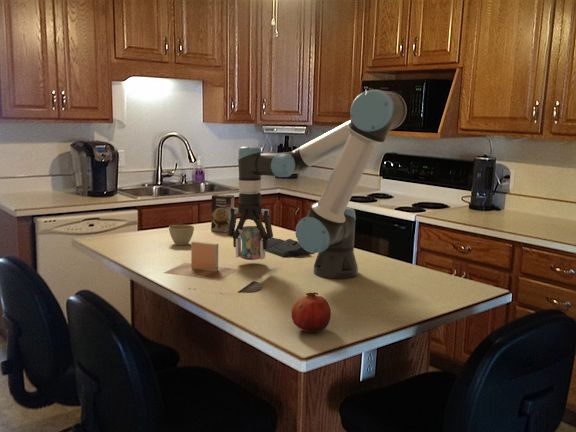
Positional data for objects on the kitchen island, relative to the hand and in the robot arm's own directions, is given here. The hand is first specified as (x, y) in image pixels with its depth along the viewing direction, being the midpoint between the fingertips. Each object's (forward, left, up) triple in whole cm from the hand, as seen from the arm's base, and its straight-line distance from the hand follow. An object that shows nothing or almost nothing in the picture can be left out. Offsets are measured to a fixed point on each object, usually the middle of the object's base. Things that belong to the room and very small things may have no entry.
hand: (250, 257), depth 204 cm
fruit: (-36, +47, -4) cm, 59 cm away
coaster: (-6, +20, -4) cm, 21 cm away
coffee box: (+37, -55, -4) cm, 66 cm away
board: (+12, +14, -4) cm, 19 cm away
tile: (+12, +11, -3) cm, 17 cm away
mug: (-1, 0, -1) cm, 1 cm away
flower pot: (+40, -23, -4) cm, 46 cm away
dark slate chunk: (-1, -32, -5) cm, 32 cm away
